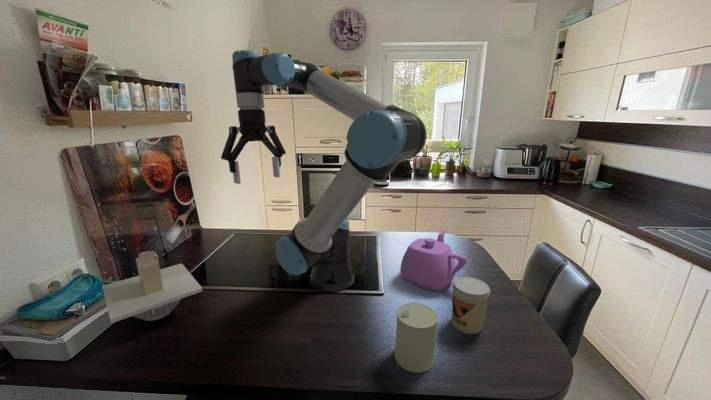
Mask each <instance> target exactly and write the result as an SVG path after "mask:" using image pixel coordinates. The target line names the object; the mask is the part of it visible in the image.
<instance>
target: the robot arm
mask: <svg viewBox="0 0 711 400" xmlns="http://www.w3.org/2000/svg"><path fill="white" fill-rule="evenodd" d="M231 58H232V66H231V67H232V73H233V80H234V87H235V88H234V89H235V96H236V106H237V108H239V109H238V111H237V117H238V122H239V126H235V125H233V126H232V125H231V126H229V127H228V136H227V139H226V142H225V144H224V147H223V151H222V153H221V156H220V159H221V160H224V161H227V162H228V166H229V168H228V169H229V172H230V173H232V176H233V177H232V178H233V183H234V184H237V185H241V183H242V182H241V181H242V180H241V175H240V174H241V173H240V165H239V161H237V159H238V157H239V156H240V154H241V153H242V151H243V150H244V147H245V146H246V144H248V143H249V142H261V143H262V144H263V145H264V146H265V147H266V148H267V149H268V150H269V151H270V153H271V154H272V155H273V156H272V157H271V160H272V161H271V162H272V171H273V177H274V178H277V179H278V178H281V172H280V171H281V170H280V167H282V158H283V155H286V153H287V152H286V150H285V148H284V145H283V144H282V142H281V140H280V138H279V136H278V134H277V130H276V126H275V125H268V126H267V125H266V113H265V110H264V108H265V101H264V91H263V87H269V86H278V87H285V88H293V89H298V90H299V89H300V90H302V91H304V92H306V93H308V94H309V95H311V96H312V97H314V98H316V99H318V100H320V101H321V102H322V103H325V104H326V105H327V106H330V108H332V109H334V110H335V111H337V112H339V113H341V114H343V115H345V117H348V118H349V119H351V120H353V121H352V122H351V123H350V124H351V125H350V126H349V128H348V130H347V133H346V139H345V140H346V141H347V143H346V147H345V150H344V151H343V154H344V158H345V161H344V162H343V164H342V165H341V167H340V169H339V170H338V171H337V173H336V175H334V177H333V179H332V181H330V183H329V185H328V186H327V188H326V189H325V190H324V192H323V194H322V195H321V196H320V198H319V199H318V201H317V203H316V204H315V205H314V207H313V208H312V210H311V212H310V213H309V214H308V216H307V217H306V218H303V219H300V220H299V221H297V223H296V224H295V225H294V227H293V228H292V229H291V232H290V233H288V234H287V235H283V236H281V237H280V238H278V240H277V241H276V243H275V248H274V250H275V254H276V258H277V261H278V263H279V264H280V266H281V267H282V268H283V270H284V271H285V272H286V273H288V274H289V275H292V276H299V275H302V274H306V272H307V271H309V270H311V272H310V277H309V279H310V284H311V286H312V287H313V288H314V289H317V290H319V291H321V290H322V292H327V291H335V292H340V291H339V290H341V291H344V290H346V289H348V288H350V287H351V286H352V285H353V284H354V282H355V271H354V268H353V266H352V263H351V259H350V230H351V229H350V222H349V220H348V217H349V215H350V214H351V213H352V211H354V209H355V208H356V206H358V204H359V203H360V202H361V200H362V199H363V197H365V196H366V194H367V193H368V191H369V190H371V188H372V187H373V185H374V184H375V183H376V182H377V183H378V182H383V181H386V179H387V178H388V177H389V176H390V174H391V173H392V172H393V171H394V169H395V168H396V167H397V165H398V164H399V163H402V162H405V161H409V160H411V159H413V158H414V157H416V156H417V155H419V154H420V153H421V151H422V150H423V148H424V147H425V145H426V141H427V129H426V126H425V123H424V122H423V121H422V119H421V117H419V116H418V115H417V114H414V113H413V112H411V111H407V110H405V109H403V108H400V107H398V106H396V105H395V104H392V103H391V104H389V105H386V104H384V103H383V102H380V101H379V100H377V99H375V98H374V97H371V96H370V95H367V94H366V93H364V92H362V91H360V90H358V89H356V88H355V87H353V86H351V85H349V84H347V83H345V82H343V81H341V80H339V79H337V78H336V77H334V76H333V75H331V74H329V73H327V72H325V71H324V70H322V68H321V67H320V66H318V65H316V64H315V63H311V62H305V61H300V60H295V59H293V58H291V57H290V56H289V55H288V54H286V53H285V52H271V53H268V54H265V55H260V54H259V53H258V52H257V51H254V50H248V49H242V50H236V51H234V52H232V54H231ZM267 133H268V135H269V137H270V138H269V137H268V136H267V135H266V134H267ZM238 134H241V135H240V138H239V139H238V142H236V140H237V137H238ZM271 141H272V142H271ZM235 143H236V144H235ZM234 146H235V147H234Z"/></svg>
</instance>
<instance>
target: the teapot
mask: <svg viewBox="0 0 711 400" xmlns="http://www.w3.org/2000/svg"><path fill="white" fill-rule="evenodd" d="M445 235H446V230H441V231H439V233H438V235H437V238H436V239H435V238H432V237H426V238H418V239H415V240H413V241H412V242H411V243H410V244H409V245H408V246H407V248H406V250H405V252H404V255H403V256H402V260H401V262H400V263H401V264H400V268H399V271H400V274H401V276H402V278H403V280H405V281H406V282H408V283H410V284H413V285H414V286H417V287H420V288H424V289H427V290H433V291H442V290H445V289H446V287H447V286H448V285H450V283H451V282H452V281H453V279H454V277H455V276H456V274H457V273H458V272H459V271H461V270H462V269H463V268H464V267H465V266H466V263H467V257H466V256H464V255H462V254H459V253H453V250H452V248H451V246H450V245H449V244H447V243H445V241H444V240H445ZM455 259H456V260H457V264H456V260H455Z"/></svg>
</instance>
